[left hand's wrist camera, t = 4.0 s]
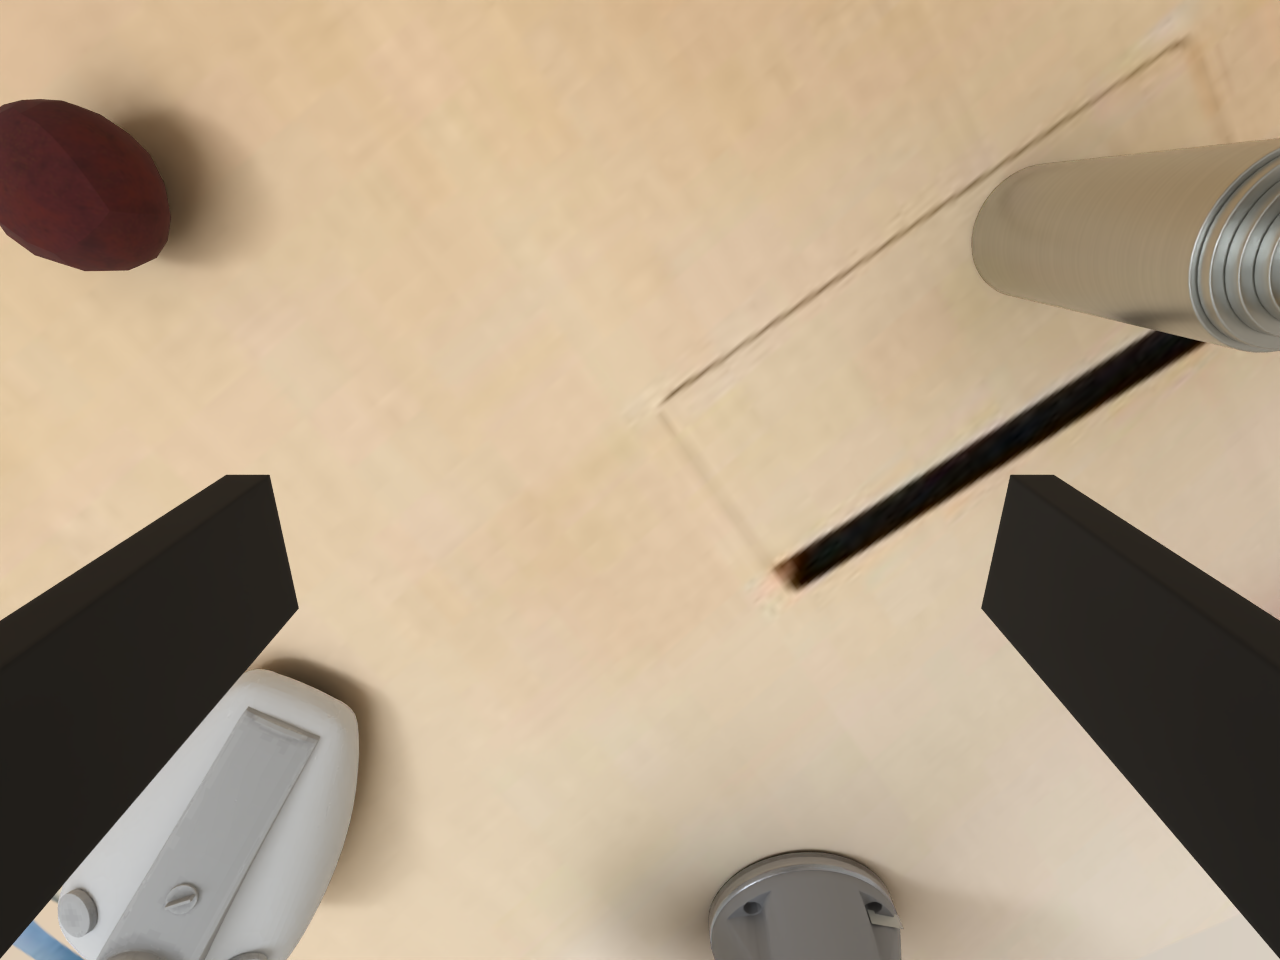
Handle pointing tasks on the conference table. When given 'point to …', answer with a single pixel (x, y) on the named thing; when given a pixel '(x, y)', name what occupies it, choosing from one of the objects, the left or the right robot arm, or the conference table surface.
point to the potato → (79, 188)
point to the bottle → (1146, 240)
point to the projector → (225, 834)
